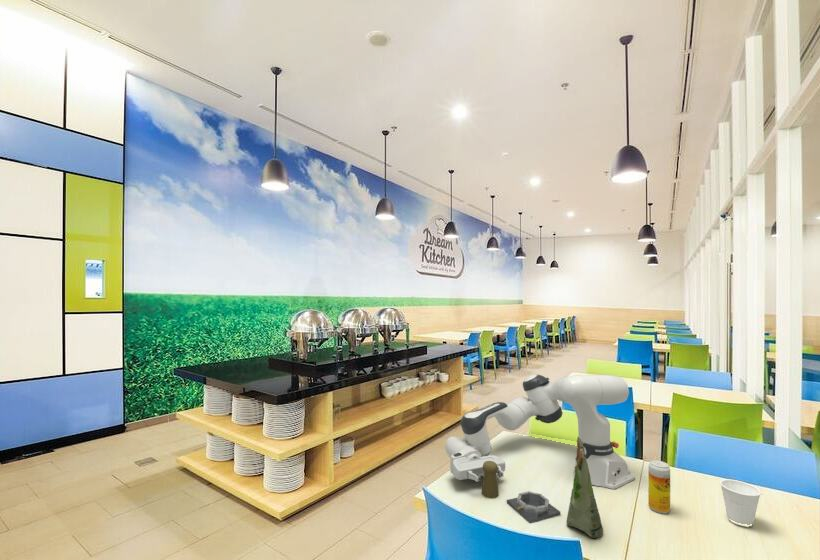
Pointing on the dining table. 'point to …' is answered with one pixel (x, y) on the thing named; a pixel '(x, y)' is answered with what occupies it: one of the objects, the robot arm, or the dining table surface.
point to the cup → (740, 500)
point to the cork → (490, 480)
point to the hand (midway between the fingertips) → (490, 477)
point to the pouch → (583, 499)
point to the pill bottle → (659, 486)
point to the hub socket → (533, 507)
